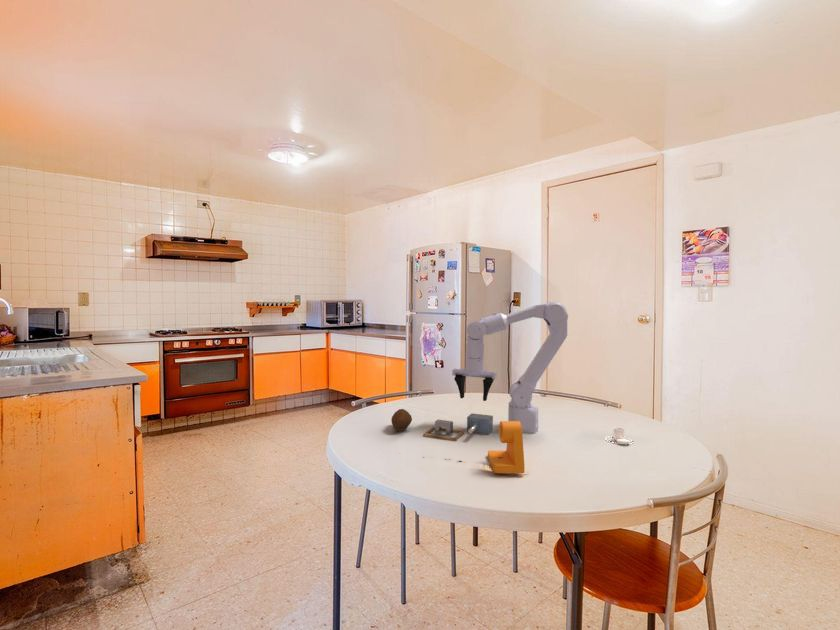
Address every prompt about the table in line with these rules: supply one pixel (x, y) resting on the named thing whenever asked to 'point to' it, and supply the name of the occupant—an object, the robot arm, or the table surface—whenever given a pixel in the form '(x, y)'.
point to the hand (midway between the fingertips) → (473, 399)
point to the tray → (427, 434)
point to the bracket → (509, 449)
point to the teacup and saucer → (619, 436)
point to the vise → (479, 424)
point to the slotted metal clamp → (444, 423)
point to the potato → (401, 419)
